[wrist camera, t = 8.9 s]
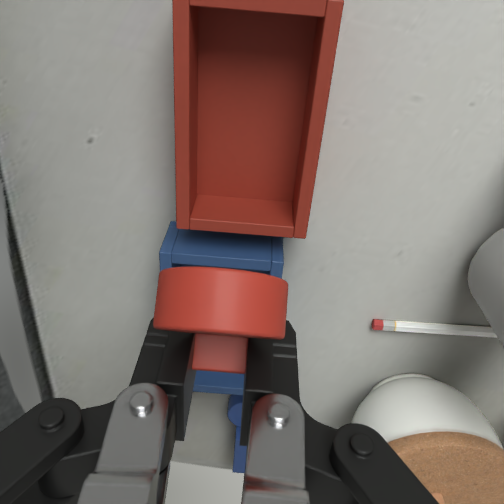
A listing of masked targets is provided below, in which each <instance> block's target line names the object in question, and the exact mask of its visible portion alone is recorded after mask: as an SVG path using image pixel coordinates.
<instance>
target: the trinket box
mask: <svg viewBox="0 0 504 504" xmlns="http://www.w3.org/2000/svg"><path fill="white" fill-rule="evenodd" d="M351 423H358V424H363V425H366V426H369V427H371V428H372V429H374V430H375V431H377V432H378V433H379V434H380V435H381V436H382V437H383V438H384V439H385V441H386V442H387V443H388V444H389V445H390V446H391V448H392V449H393V450H394V451H395V452H396V453H397V455H398V456H399V457H400V458H401V459H402V460H403V462H404V463H405V464H406V465H407V466H408V468H409V469H410V470H411V471H412V472H413V473H414V475H415V476H416V477H417V478H418V479H419V480H420V482H421V483H422V484H423V485H424V486H425V487H426V489H427V490H428V491H429V492H430V493H431V494H432V496H433V497H434V498H435V499H436V500H437V501H438V503H439V504H504V448H503V446H502V444H501V442H500V440H499V438H498V436H497V434H496V432H495V431H494V429H493V427H492V426H491V424H490V423H489V421H488V420H487V418H486V417H485V416H484V414H483V413H482V412H481V411H480V409H479V408H478V407H477V406H476V405H475V404H474V403H473V402H472V401H471V400H470V399H469V398H468V397H467V396H465V395H464V394H463V393H462V392H460V391H459V390H457V389H455V388H454V387H452V386H450V385H448V384H445V383H443V382H440V381H437V380H435V379H433V378H431V377H429V376H426V375H421V374H413V373H411V374H400V375H395V376H392V377H389V378H387V379H385V380H383V381H381V382H380V383H378V384H377V385H376V386H374V387H373V389H372V390H371V391H370V393H369V394H368V395H367V397H366V398H365V399H364V400H363V401H362V402H361V403H360V405H359V407H358V408H357V410H356V412H355V414H354V416H353V419H352V422H351Z"/></svg>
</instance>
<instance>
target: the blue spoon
mask: <svg viewBox="0 0 504 504" xmlns="http://www.w3.org/2000/svg"><path fill="white" fill-rule="evenodd" d="M242 401H243V395H231V396H230V398H229V403H228V418H229V420H230V421H231V422H232V423H233V424H235V425H236V435H235V447H234V460H233V472H237V473H245V465H246V451H247V446H239V445H240V430H241V416H242Z"/></svg>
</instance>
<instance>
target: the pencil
mask: <svg viewBox="0 0 504 504" xmlns="http://www.w3.org/2000/svg"><path fill="white" fill-rule="evenodd" d="M372 329H374V330H387V331H403V332H418V333H433V334H448V335H464V336H479V337H494V338H498V337H497V335H496V334H495V332H494V330H493V329H492V327H484V326H469V325H454V324H439V323H423V322H408V321H393V320H378V319H373V321H372Z"/></svg>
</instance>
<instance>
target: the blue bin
mask: <svg viewBox="0 0 504 504" xmlns="http://www.w3.org/2000/svg"><path fill="white" fill-rule="evenodd" d="M159 260H160V272H161V271H162V270H164V269H167V268H173V267H217V268H229V269H238V270H245V271H252V272H258V273H263V274H267V275H271V276H275V277H278V278H280V279H282V272H283V265H284V256H283V237H276V236H264V235H252V234H239V233H227V232H215V231H202V230H190V228H189V229H177V227H176V222H175V221H171V222H170V225H169V228H168V230H167V233H166V236H165V238H164V241H163V244H162V246H161V249H160V252H159ZM243 387H244V374H237V373H225V372H213V371H200V370H197V371H196V376H195V382H194V387H193V392H206V393H219V394H232V395H243Z"/></svg>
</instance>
